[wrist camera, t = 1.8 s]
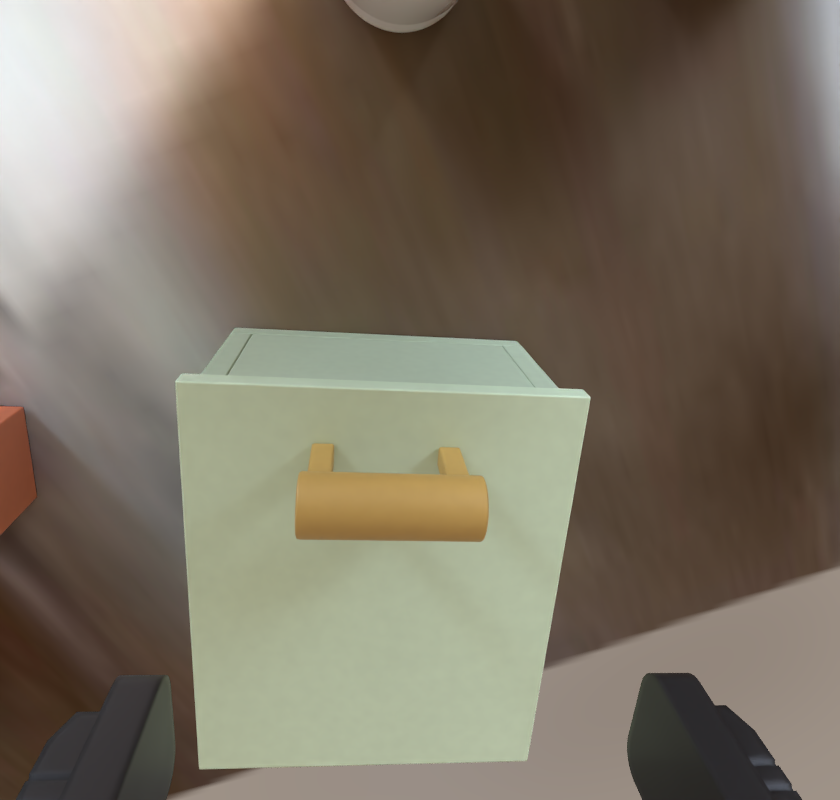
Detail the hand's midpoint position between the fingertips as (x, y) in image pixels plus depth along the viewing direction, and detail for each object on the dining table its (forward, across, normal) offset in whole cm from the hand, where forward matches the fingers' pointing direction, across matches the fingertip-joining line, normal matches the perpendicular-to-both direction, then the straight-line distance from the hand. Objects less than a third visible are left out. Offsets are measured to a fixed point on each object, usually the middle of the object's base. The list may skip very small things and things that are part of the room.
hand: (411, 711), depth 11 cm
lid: (+11, 0, +6) cm, 12 cm away
